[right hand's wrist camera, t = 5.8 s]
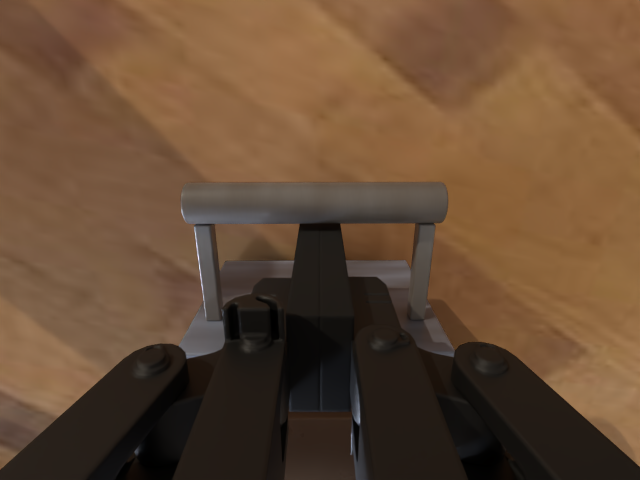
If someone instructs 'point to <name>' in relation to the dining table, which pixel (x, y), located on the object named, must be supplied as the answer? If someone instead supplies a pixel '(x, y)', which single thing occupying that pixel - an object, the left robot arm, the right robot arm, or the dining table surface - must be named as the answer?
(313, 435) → the cabinet
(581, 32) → the dining table surface
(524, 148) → the dining table surface
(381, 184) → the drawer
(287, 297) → the right robot arm
